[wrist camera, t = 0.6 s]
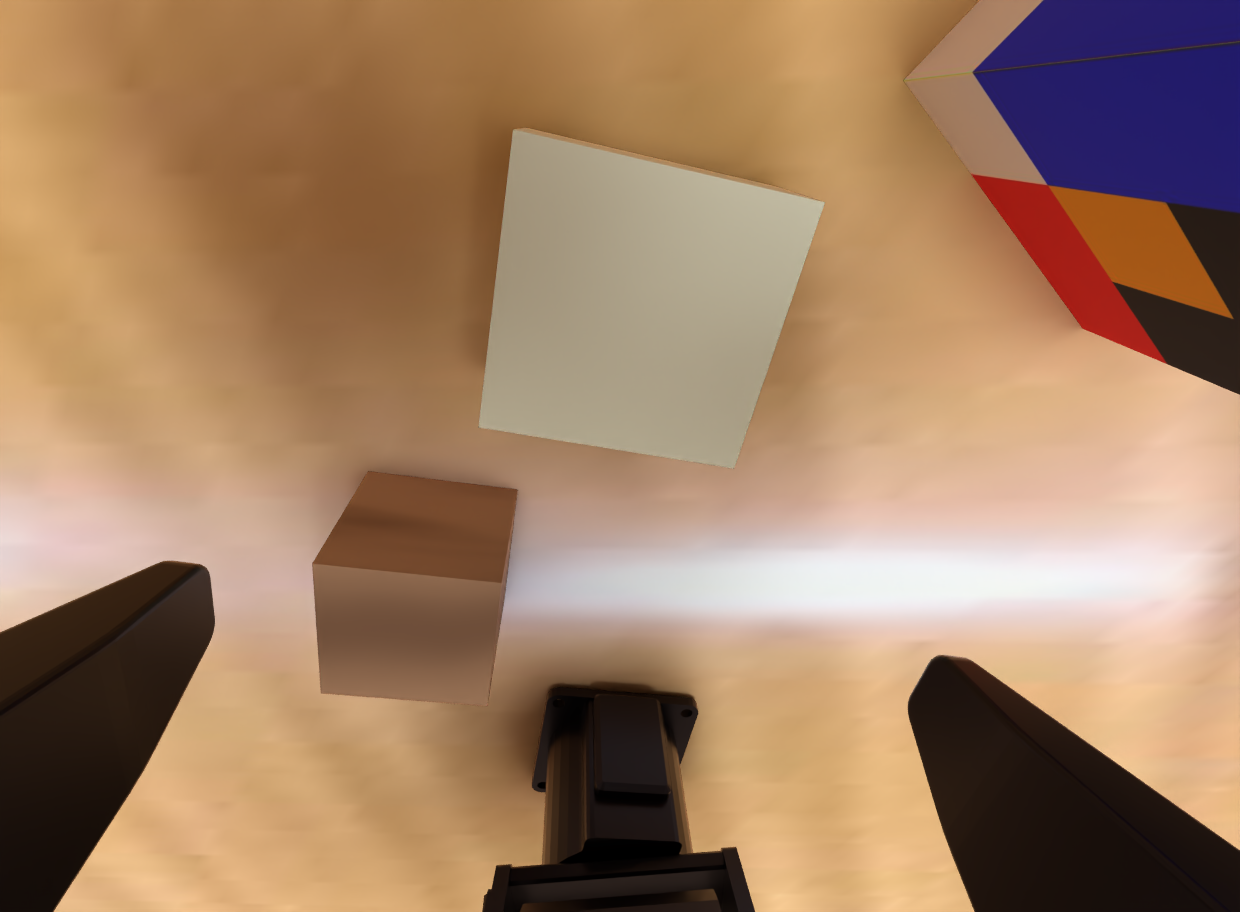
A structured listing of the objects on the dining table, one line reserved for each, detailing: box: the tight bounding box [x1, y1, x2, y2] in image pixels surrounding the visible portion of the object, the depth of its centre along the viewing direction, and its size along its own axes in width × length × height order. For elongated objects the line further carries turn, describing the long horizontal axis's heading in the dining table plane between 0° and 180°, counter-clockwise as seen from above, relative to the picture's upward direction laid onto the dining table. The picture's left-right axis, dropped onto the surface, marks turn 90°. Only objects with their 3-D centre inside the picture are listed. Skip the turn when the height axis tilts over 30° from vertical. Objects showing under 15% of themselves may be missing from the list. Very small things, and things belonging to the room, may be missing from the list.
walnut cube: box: [312, 471, 518, 706], centre depth 20 cm, size 5×5×5 cm
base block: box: [478, 128, 825, 469], centre depth 17 cm, size 7×7×4 cm
